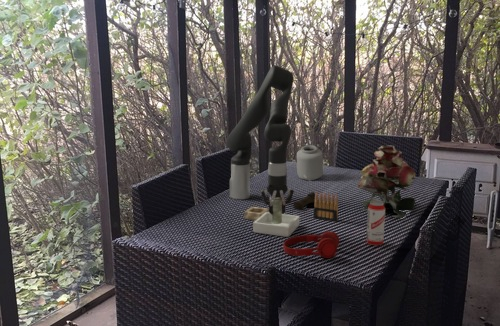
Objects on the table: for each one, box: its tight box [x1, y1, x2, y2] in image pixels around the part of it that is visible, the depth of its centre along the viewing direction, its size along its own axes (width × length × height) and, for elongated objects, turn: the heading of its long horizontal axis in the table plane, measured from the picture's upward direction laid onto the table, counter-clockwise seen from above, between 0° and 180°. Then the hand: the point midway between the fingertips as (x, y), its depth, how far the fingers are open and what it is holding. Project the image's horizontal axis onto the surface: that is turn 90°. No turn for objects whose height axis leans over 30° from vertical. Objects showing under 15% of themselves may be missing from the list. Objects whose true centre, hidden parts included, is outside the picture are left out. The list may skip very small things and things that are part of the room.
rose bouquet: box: [357, 145, 416, 219], centre depth 229 cm, size 26×29×30 cm
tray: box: [252, 212, 301, 238], centre depth 204 cm, size 15×15×4 cm
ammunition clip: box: [313, 191, 339, 223], centre depth 215 cm, size 11×2×12 cm, turn 63°
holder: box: [243, 206, 269, 221], centre depth 219 cm, size 8×8×3 cm
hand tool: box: [293, 191, 316, 211], centre depth 237 cm, size 19×4×5 cm, turn 145°
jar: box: [296, 137, 324, 181], centre depth 284 cm, size 19×15×25 cm
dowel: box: [272, 197, 282, 224], centre depth 203 cm, size 4×4×10 cm
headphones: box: [282, 230, 340, 259], centre depth 181 cm, size 15×7×20 cm
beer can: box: [365, 201, 386, 247], centre depth 187 cm, size 6×6×16 cm
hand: (277, 213), depth 203 cm, fingers closed on dowel, 4 cm apart
